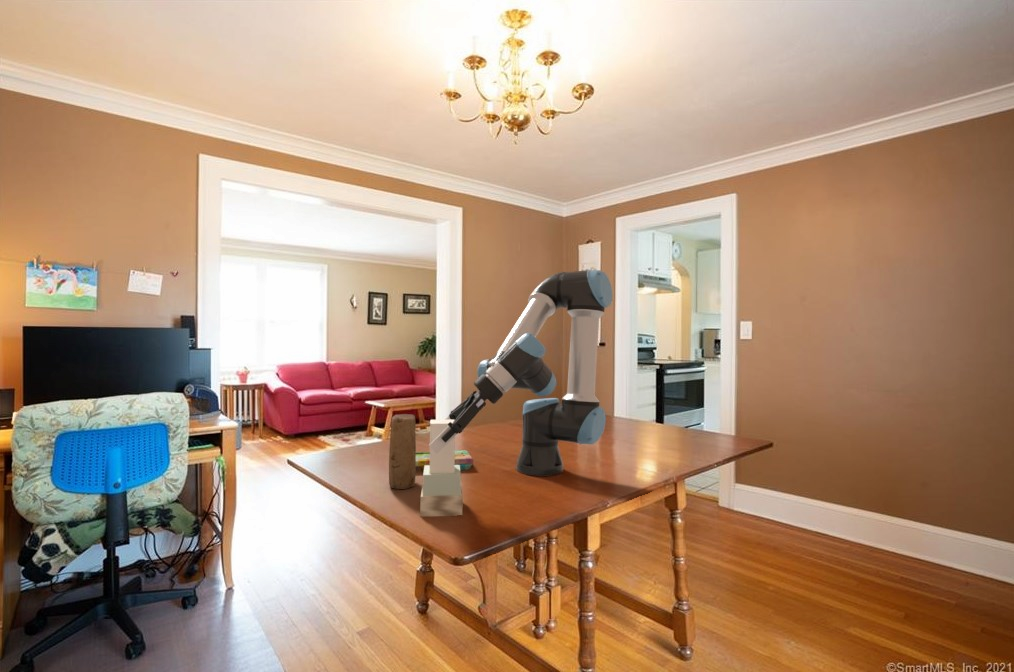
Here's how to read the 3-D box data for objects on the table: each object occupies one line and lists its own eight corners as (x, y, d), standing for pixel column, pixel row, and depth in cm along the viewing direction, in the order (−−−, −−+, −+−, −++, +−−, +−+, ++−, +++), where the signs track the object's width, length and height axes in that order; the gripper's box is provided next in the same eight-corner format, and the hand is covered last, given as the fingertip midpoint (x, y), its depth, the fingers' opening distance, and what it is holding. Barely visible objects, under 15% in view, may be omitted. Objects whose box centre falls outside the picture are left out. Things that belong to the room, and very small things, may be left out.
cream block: (453, 466, 127) (454, 419, 127) (454, 472, 121) (455, 423, 121) (429, 467, 126) (430, 419, 126) (429, 473, 120) (430, 423, 120)
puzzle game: (473, 456, 160) (410, 459, 155) (473, 471, 160) (409, 474, 155) (467, 448, 171) (408, 450, 166) (466, 462, 171) (407, 464, 166)
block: (415, 489, 138) (416, 418, 138) (387, 491, 137) (389, 418, 137) (415, 478, 149) (416, 412, 149) (389, 479, 148) (390, 412, 148)
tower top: (459, 484, 129) (459, 464, 129) (460, 495, 120) (460, 474, 120) (424, 484, 128) (424, 465, 128) (422, 496, 119) (423, 475, 119)
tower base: (461, 502, 129) (461, 483, 129) (462, 516, 119) (462, 495, 119) (422, 503, 128) (422, 484, 128) (420, 517, 118) (420, 496, 118)
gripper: (480, 369, 137) (424, 423, 135) (488, 376, 113) (420, 443, 111) (498, 388, 138) (443, 443, 136) (511, 400, 113) (444, 467, 111)
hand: (433, 443), depth 123 cm, fingers open, 13 cm apart
